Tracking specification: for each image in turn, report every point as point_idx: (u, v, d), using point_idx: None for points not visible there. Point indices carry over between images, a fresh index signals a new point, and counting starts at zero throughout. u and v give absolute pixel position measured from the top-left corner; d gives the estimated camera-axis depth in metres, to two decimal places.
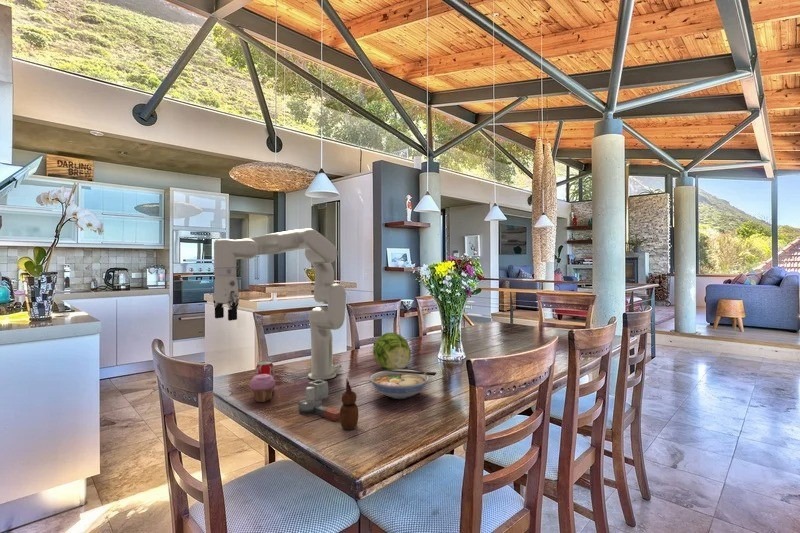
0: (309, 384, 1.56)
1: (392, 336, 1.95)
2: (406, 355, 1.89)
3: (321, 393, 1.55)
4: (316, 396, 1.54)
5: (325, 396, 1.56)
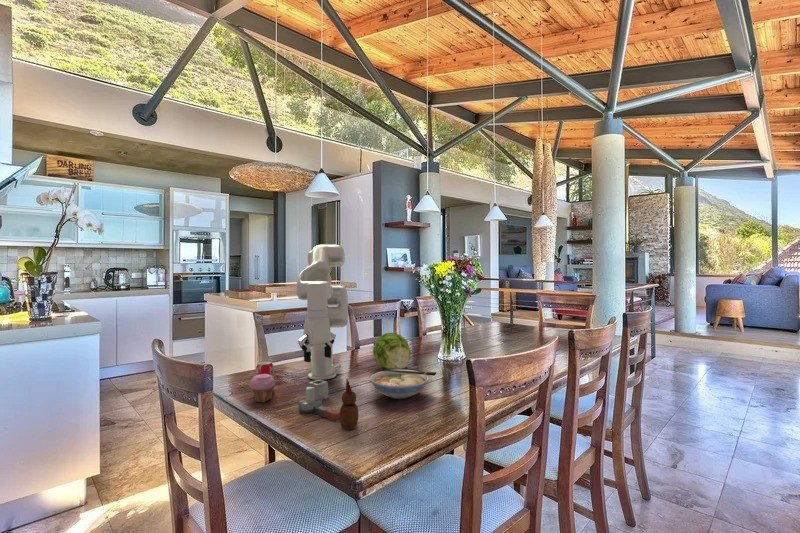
0: (309, 384, 1.56)
1: (392, 336, 1.95)
2: (406, 355, 1.89)
3: (321, 393, 1.55)
4: (316, 396, 1.54)
5: (325, 396, 1.56)
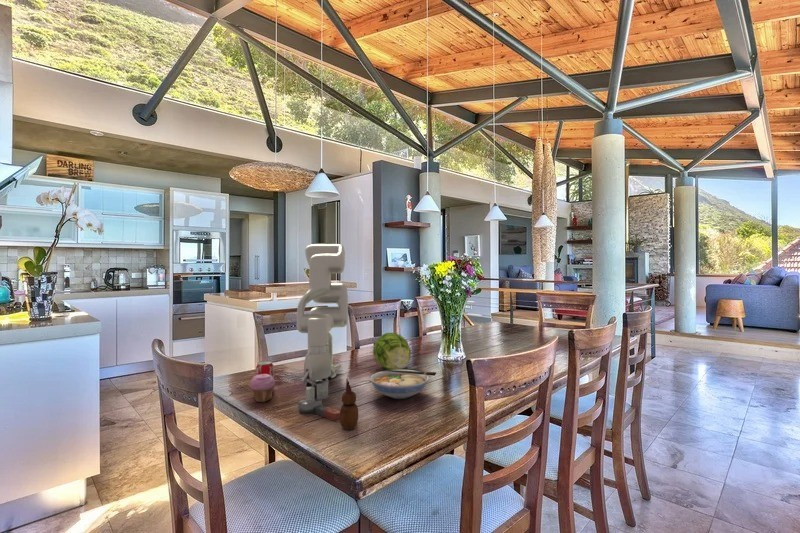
0: None
1: (392, 336, 1.95)
2: (406, 355, 1.89)
3: (321, 393, 1.55)
4: (316, 396, 1.54)
5: (325, 396, 1.56)
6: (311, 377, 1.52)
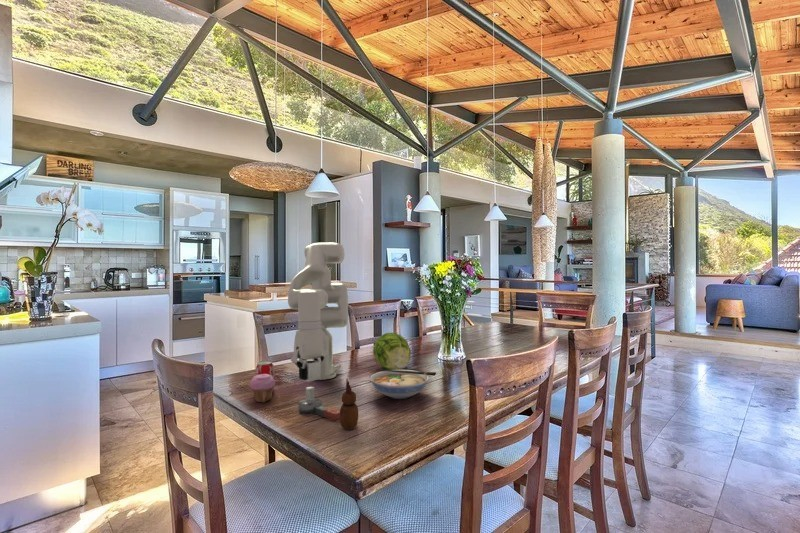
0: None
1: (392, 336, 1.95)
2: (406, 355, 1.89)
3: (313, 373, 1.42)
4: (307, 376, 1.40)
5: (317, 377, 1.43)
6: (302, 355, 1.39)
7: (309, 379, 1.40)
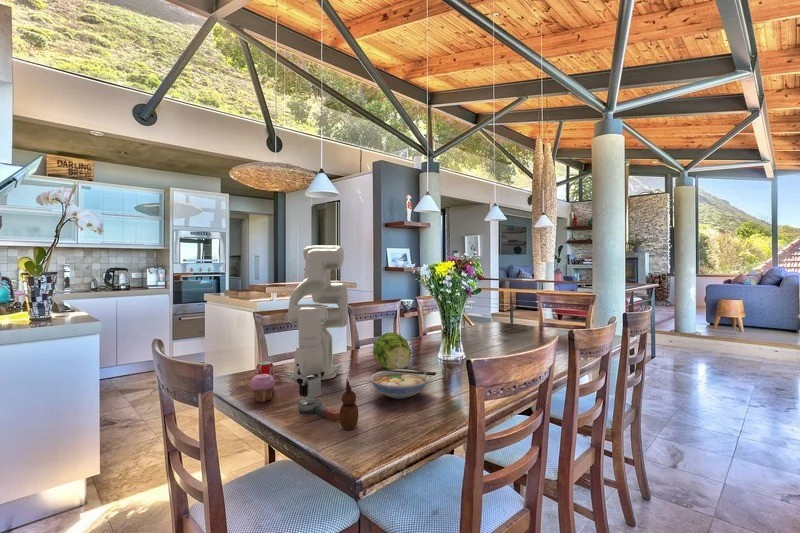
0: None
1: (392, 336, 1.95)
2: (406, 355, 1.89)
3: (313, 390, 1.42)
4: (308, 393, 1.41)
5: (318, 393, 1.43)
6: (302, 372, 1.39)
7: (309, 396, 1.41)
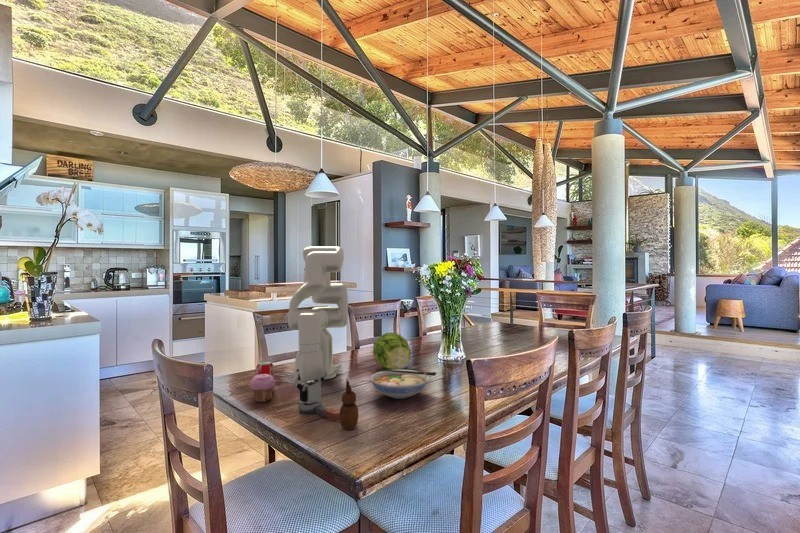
0: None
1: (392, 336, 1.95)
2: (406, 355, 1.89)
3: (313, 395, 1.42)
4: (308, 399, 1.41)
5: (318, 398, 1.44)
6: (302, 378, 1.39)
7: (309, 401, 1.41)
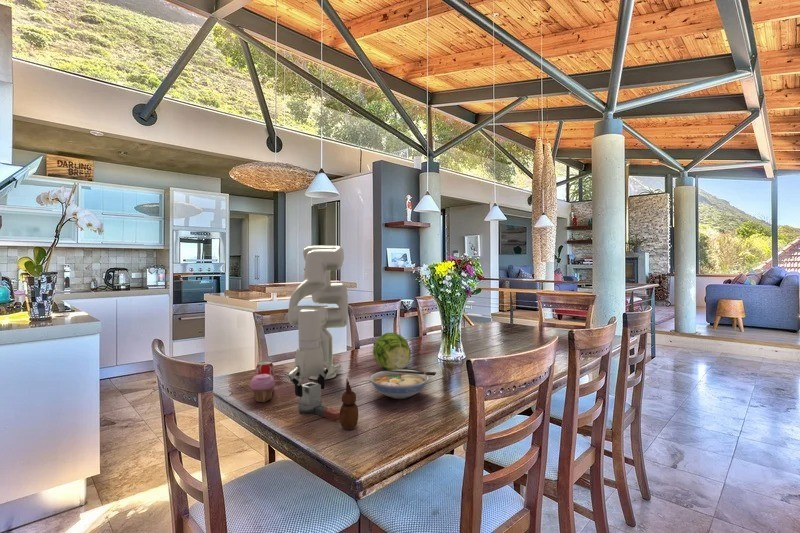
0: None
1: (392, 336, 1.95)
2: (406, 355, 1.89)
3: (313, 397, 1.42)
4: (308, 400, 1.41)
5: (318, 400, 1.44)
6: (302, 374, 1.40)
7: (309, 403, 1.41)
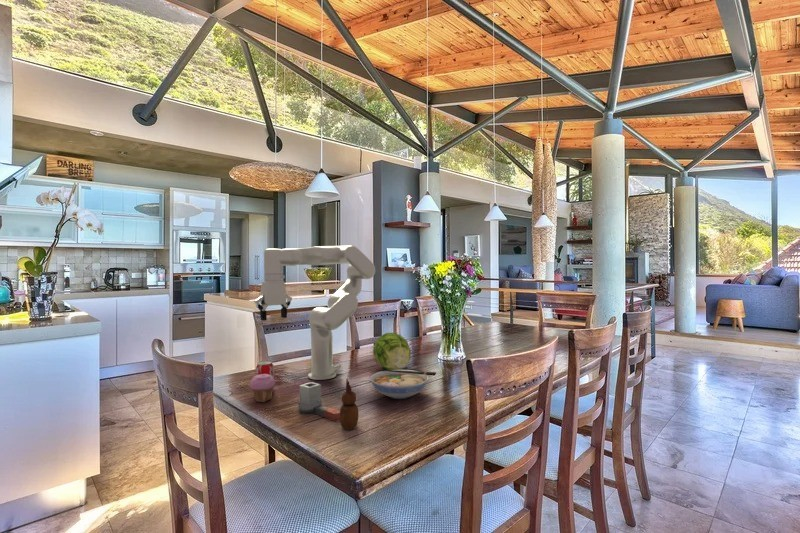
0: (300, 387, 1.43)
1: (392, 336, 1.95)
2: (406, 355, 1.89)
3: (313, 397, 1.42)
4: (308, 400, 1.41)
5: (318, 400, 1.44)
6: (266, 301, 1.67)
7: (309, 403, 1.41)
